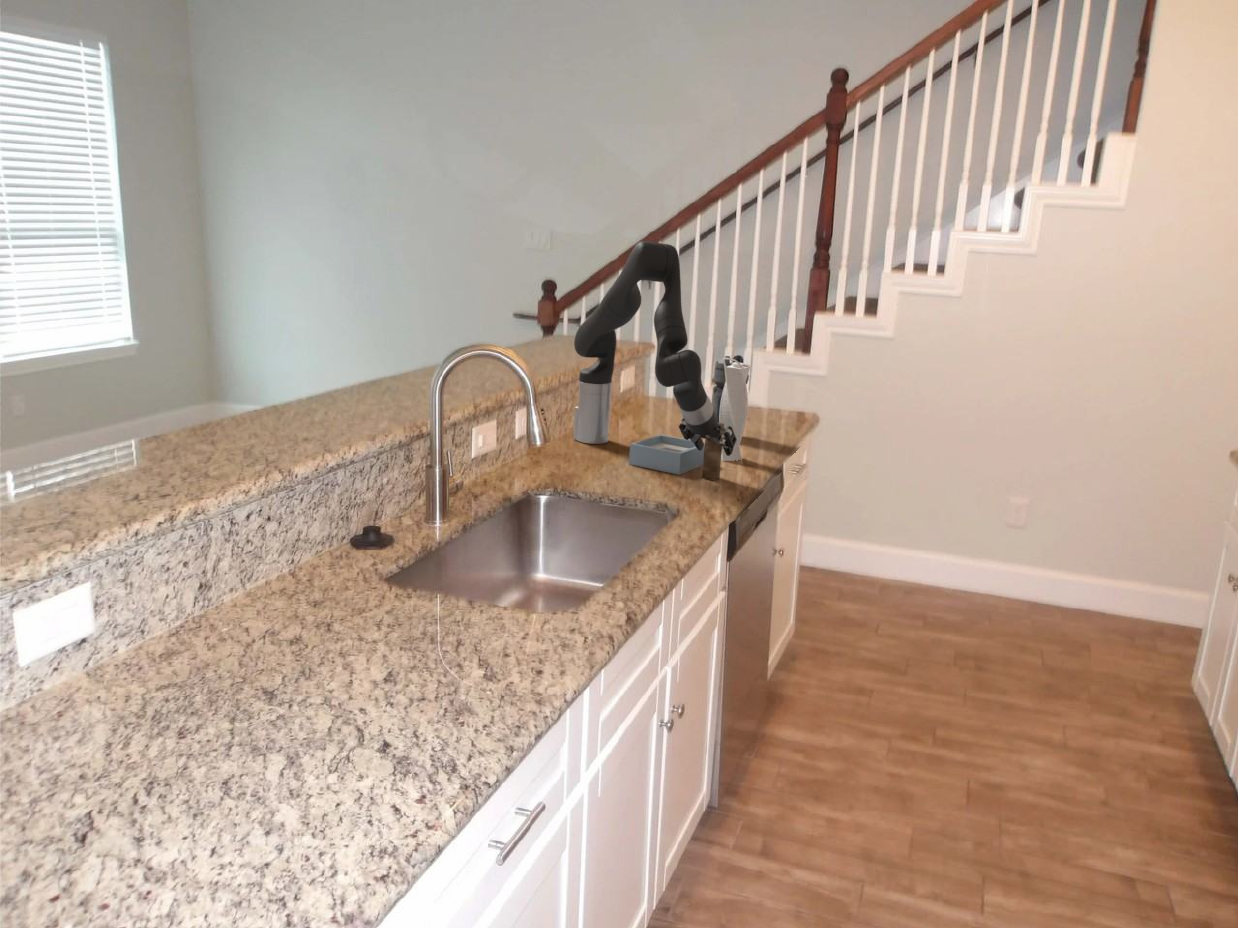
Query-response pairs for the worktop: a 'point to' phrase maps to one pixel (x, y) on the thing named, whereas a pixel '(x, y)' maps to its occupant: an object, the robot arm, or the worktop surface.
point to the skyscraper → (734, 404)
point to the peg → (712, 459)
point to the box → (666, 454)
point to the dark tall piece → (722, 382)
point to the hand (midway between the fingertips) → (715, 450)
